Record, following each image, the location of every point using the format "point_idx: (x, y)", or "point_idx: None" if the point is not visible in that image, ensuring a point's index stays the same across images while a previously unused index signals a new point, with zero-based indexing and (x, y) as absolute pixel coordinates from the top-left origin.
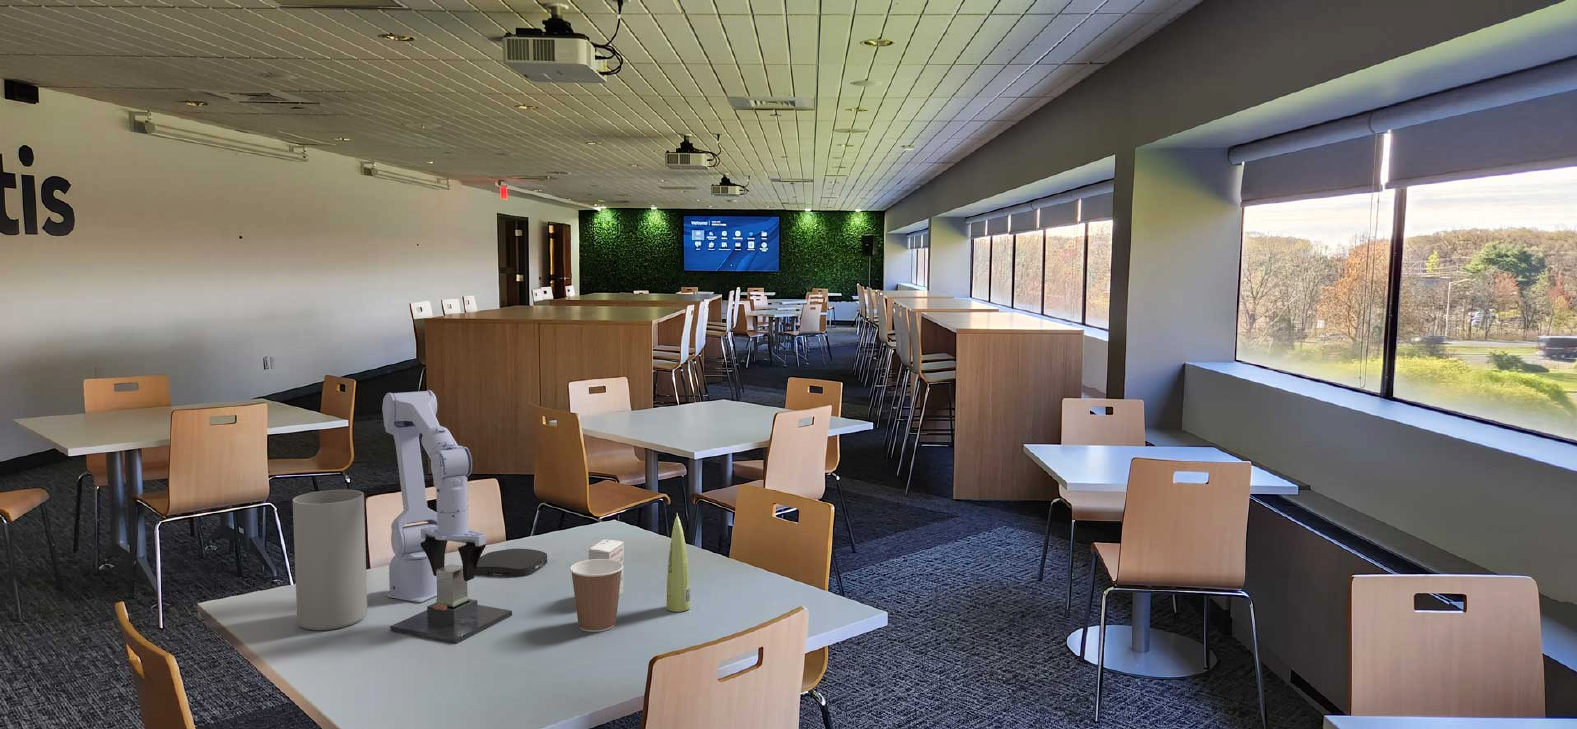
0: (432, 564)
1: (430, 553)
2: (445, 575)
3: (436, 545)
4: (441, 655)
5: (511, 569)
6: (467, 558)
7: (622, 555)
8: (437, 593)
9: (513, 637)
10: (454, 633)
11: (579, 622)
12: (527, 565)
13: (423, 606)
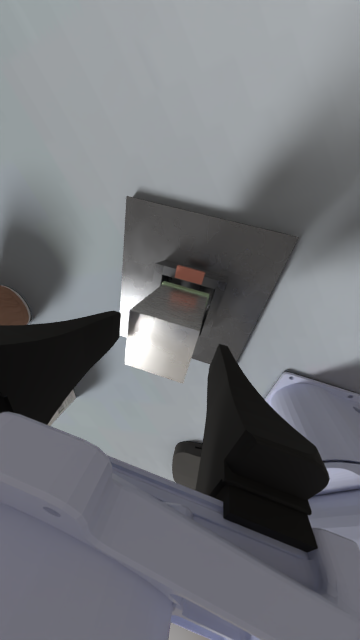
0: (229, 364)
1: (236, 396)
2: (164, 313)
3: (218, 449)
4: (123, 123)
5: (192, 452)
6: (22, 325)
7: None
8: (204, 301)
9: (69, 250)
10: (144, 223)
11: (6, 293)
12: (177, 459)
13: (273, 359)
